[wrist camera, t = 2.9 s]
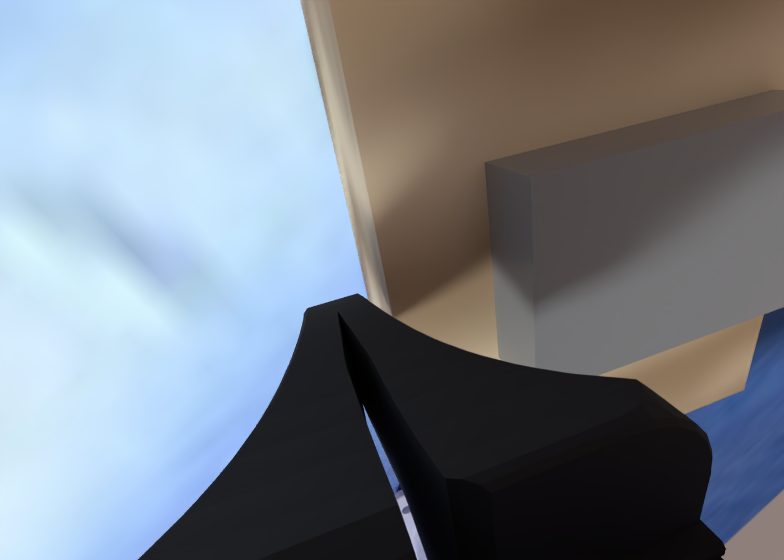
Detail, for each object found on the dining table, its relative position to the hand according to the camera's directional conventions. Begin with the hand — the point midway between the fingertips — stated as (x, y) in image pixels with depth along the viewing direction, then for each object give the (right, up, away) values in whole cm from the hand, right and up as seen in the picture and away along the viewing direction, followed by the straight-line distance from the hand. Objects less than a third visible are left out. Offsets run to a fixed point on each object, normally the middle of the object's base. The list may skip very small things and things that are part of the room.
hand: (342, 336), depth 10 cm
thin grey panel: (+8, +3, +2) cm, 9 cm away
